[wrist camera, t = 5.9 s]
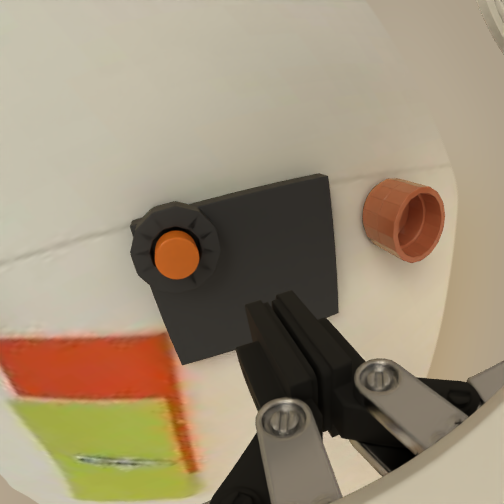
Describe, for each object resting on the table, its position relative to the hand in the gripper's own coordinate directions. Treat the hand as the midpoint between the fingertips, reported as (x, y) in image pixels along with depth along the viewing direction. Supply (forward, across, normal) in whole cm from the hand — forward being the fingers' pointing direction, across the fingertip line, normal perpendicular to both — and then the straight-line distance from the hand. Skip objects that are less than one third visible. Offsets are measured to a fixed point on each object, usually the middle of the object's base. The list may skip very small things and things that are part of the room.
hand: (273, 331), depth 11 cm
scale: (+12, -2, +4) cm, 13 cm away
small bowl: (+13, -15, +2) cm, 20 cm away
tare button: (+10, +3, 0) cm, 10 cm away
